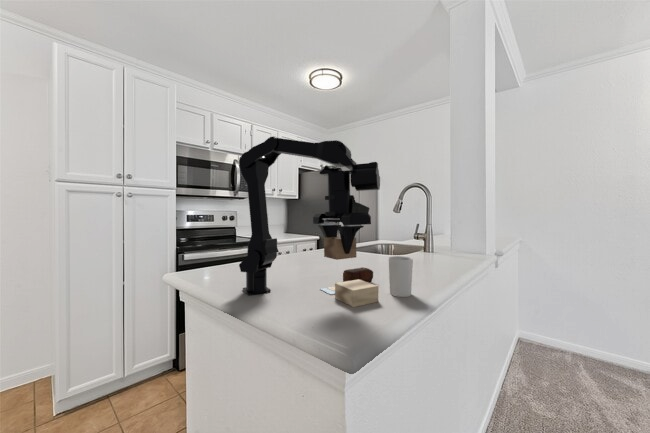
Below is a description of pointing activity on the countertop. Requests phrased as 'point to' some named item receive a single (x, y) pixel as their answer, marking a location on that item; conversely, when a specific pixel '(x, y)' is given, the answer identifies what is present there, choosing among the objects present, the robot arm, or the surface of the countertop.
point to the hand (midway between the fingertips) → (340, 252)
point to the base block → (356, 292)
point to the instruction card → (329, 290)
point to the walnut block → (337, 248)
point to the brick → (358, 274)
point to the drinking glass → (400, 275)
